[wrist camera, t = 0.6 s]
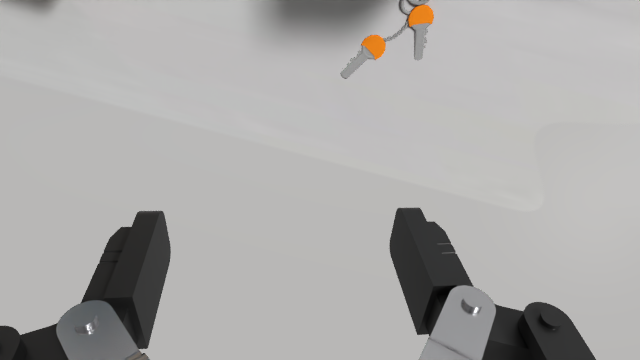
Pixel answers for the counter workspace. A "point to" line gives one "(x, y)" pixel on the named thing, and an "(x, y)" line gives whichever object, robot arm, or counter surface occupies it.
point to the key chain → (376, 44)
